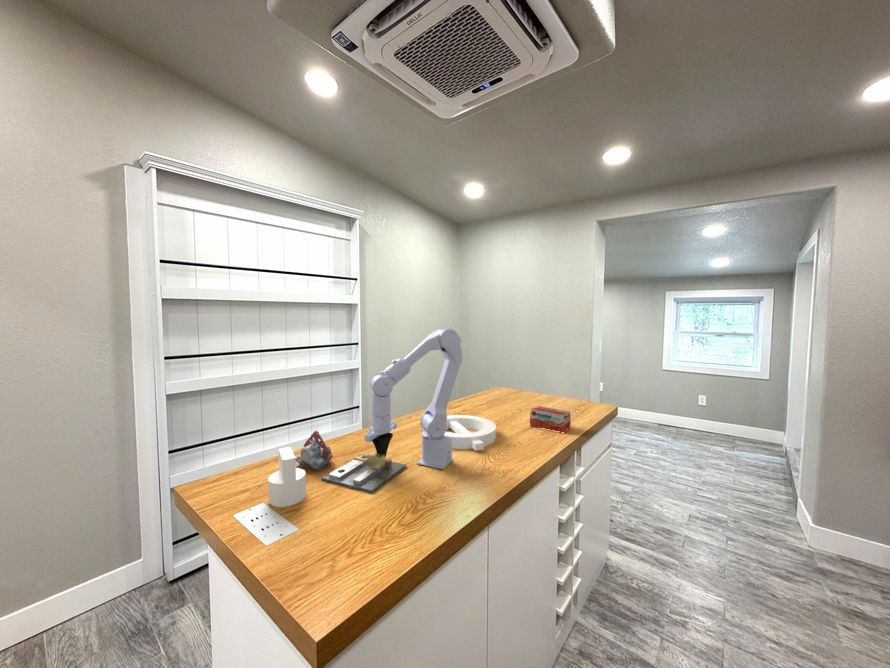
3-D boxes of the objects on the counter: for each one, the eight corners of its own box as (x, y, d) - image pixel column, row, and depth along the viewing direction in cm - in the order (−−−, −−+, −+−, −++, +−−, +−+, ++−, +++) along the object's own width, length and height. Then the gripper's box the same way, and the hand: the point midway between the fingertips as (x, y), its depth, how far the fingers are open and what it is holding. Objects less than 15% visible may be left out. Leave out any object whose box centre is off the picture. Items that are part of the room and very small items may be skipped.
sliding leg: (384, 466, 105) (384, 454, 105) (380, 469, 103) (380, 457, 103) (356, 460, 109) (356, 449, 109) (352, 463, 107) (352, 451, 107)
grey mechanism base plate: (406, 467, 110) (406, 457, 110) (372, 493, 94) (372, 481, 93) (360, 457, 117) (360, 448, 117) (321, 480, 101) (321, 469, 101)
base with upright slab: (309, 500, 90) (308, 455, 89) (270, 510, 85) (269, 463, 85) (302, 486, 98) (301, 444, 97) (267, 494, 93) (265, 451, 92)
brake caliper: (344, 453, 115) (327, 431, 108) (324, 483, 108) (304, 462, 101) (320, 447, 120) (302, 425, 113) (299, 476, 113) (279, 455, 106)
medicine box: (570, 429, 147) (571, 410, 147) (564, 434, 141) (564, 415, 141) (536, 422, 157) (537, 405, 156) (529, 427, 150) (529, 409, 150)
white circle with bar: (444, 422, 158) (444, 412, 157) (504, 431, 145) (504, 420, 145) (412, 442, 132) (412, 430, 132) (481, 455, 120) (481, 442, 120)
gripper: (384, 407, 116) (384, 447, 116) (355, 418, 102) (356, 463, 103) (402, 409, 113) (402, 450, 113) (375, 422, 99) (376, 468, 100)
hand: (381, 457), depth 108 cm, fingers closed
